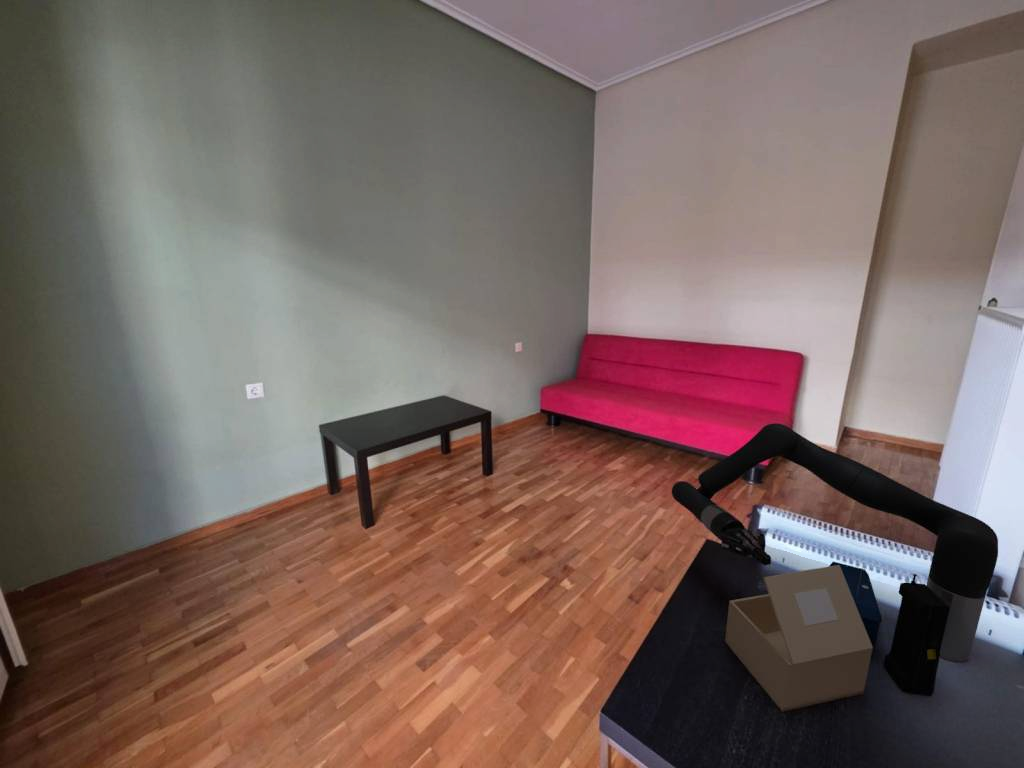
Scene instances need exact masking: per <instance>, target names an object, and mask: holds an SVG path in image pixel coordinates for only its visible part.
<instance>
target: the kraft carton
mask: <svg viewBox="0 0 1024 768" xmlns="http://www.w3.org/2000/svg"><path fill="white" fill-rule="evenodd" d="M727 609H728V610H727V619H726V621H727V622H726V630H725V631H726V632H725V640H724V642H725V643H726V645H728V647H729V648H730V649H731V651H732V652H733V653H734V655H736V657H737V658H738V659H739V661H740V662H741V664H742V665H744V667H745V668H746V669H747V670H748V671H749V673H750V674H751V675H752V677H753V678H754V679H755V680H756V681H757V683H759V684H760V687H762V688H763V690H764V691H765V692H766V693H767V695H768V696H769V697H770V698H771V700H772V701H773V702H774V703H775V704H776V706H777V707H778V708H779V709H780V711H781V712H782V713H783V712H787V711H792V710H796V709H801V708H805V707H810V706H813V705H814V706H815V705H818V704H819V705H820V704H823V703H827V701H828V702H832V701H836V699H837V700H840V698H841V699H845V698H844V697H846V698H849V697H854V696H859V695H863V694H864V692H865V687H866V683H867V677H868V671H869V669H870V668H869V667H870V662H871V657H872V655H871V653H872V648H870V649H865V650H860V651H855V652H850V653H845V654H841V655H836V656H831V657H826V658H821V659H816V660H811V661H807V662H802V663H797V664H792V663H791V660H790V657H789V654H788V651H787V648H786V645H785V642H784V639H783V636H782V633H781V630H780V627H779V624H778V621H777V618H776V615H775V612H774V609H773V606H772V603H771V600H770V597H769V594H768V593H767V594H760V595H756V596H755V595H754V596H749V597H743V598H739V599H737V598H736V599H732V600H729V602H728V608H727Z"/></svg>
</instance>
